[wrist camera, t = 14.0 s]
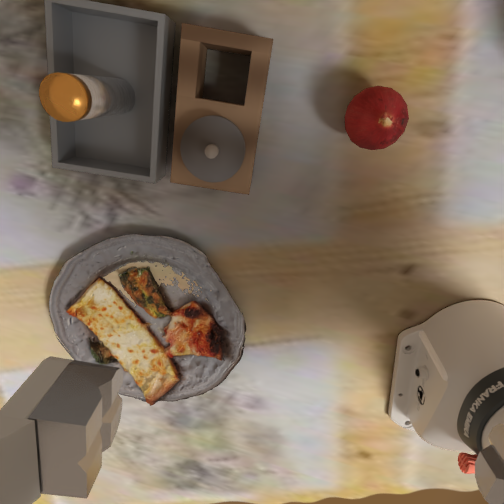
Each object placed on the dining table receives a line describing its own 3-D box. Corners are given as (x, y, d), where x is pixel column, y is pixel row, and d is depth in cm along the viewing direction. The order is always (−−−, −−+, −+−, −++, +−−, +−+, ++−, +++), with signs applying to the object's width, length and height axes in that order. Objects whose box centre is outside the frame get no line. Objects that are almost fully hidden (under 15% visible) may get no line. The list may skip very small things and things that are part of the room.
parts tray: (165, 175, 43) (155, 183, 38) (72, 160, 42) (52, 167, 38) (175, 23, 37) (165, 14, 33) (68, 4, 36) (43, -8, 32)
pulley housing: (250, 184, 43) (248, 201, 36) (179, 172, 42) (164, 188, 35) (271, 46, 37) (274, 34, 30) (191, 32, 37) (175, 16, 30)
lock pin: (135, 116, 40) (85, 125, 29) (102, 110, 39) (40, 118, 28) (136, 81, 38) (84, 76, 27) (102, 75, 38) (37, 68, 27)
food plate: (273, 355, 52) (274, 372, 48) (135, 413, 57) (127, 432, 53) (176, 197, 44) (169, 204, 41) (26, 279, 49) (9, 292, 46)
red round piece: (401, 93, 39) (434, 92, 32) (383, 149, 41) (410, 161, 34) (346, 81, 39) (367, 78, 31) (331, 139, 41) (347, 148, 33)
